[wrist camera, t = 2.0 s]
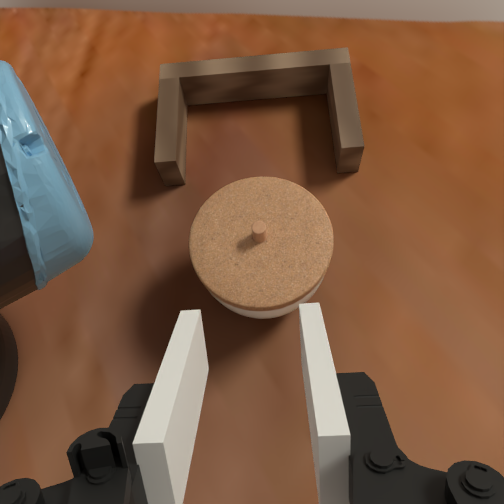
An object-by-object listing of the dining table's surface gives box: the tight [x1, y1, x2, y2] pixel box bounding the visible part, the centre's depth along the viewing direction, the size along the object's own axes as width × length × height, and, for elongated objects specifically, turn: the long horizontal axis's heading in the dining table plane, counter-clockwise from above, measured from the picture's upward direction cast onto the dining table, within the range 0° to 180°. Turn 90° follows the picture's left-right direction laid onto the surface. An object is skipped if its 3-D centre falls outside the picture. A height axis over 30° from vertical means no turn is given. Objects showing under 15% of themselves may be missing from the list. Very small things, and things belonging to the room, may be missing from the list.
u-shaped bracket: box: [154, 48, 364, 186], centre depth 44 cm, size 19×12×4 cm, turn 92°
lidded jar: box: [189, 177, 334, 319], centre depth 35 cm, size 11×11×9 cm
